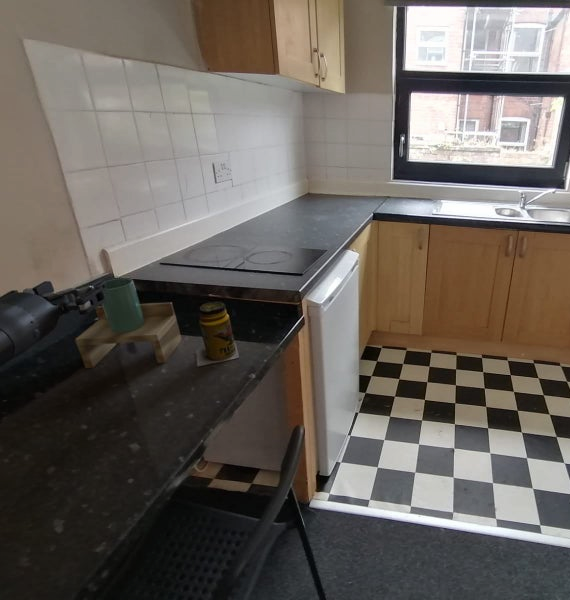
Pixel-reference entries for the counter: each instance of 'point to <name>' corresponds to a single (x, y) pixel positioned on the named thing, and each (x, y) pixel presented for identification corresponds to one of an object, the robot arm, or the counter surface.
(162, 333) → the shelf
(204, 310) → the condiment
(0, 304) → the robot arm
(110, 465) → the counter surface
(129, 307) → the cup
